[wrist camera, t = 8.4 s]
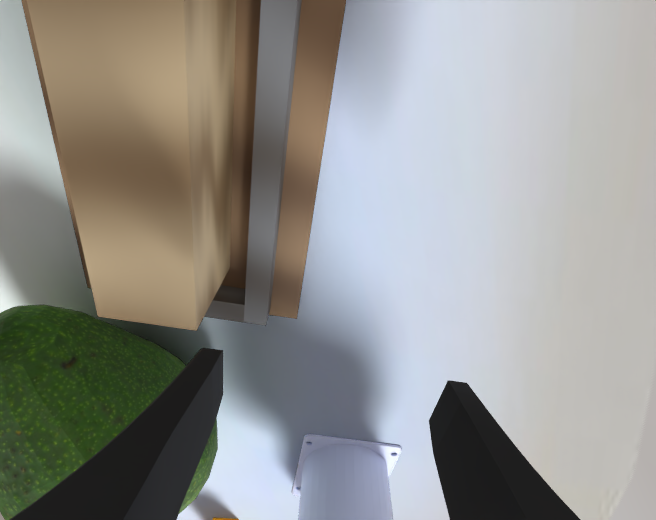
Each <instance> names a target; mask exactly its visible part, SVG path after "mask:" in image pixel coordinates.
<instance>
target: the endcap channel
mask: <svg viewBox="0 0 656 520" xmlns="http://www.w3.org/2000/svg"><path fill="white" fill-rule="evenodd" d="M345 4H346V0H236V27H235V69H234V112H233V154H232V197H231V239H230V268H229V270H228V272H227V274H226V276H225V278H224V280H223V282H222V283H221V285H220V287H219V289H218V291H217V293H216V295H215V297H214V299H213V300H212V302H211V304H210V306H209V308H208V310H207V312H206V314H205V316H204V317H210V318H217V319H224V320H231V321H238V322H245V323H251V324H258V325H265V326H266V323H267V319H268V316H269V315H275V316H281V317H288V318H295V319H297V314H298V308H299V302H300V295H301V289H302V282H303V276H304V269H305V263H306V256H307V250H308V243H309V237H310V230H311V224H312V218H313V211H314V205H315V198H316V192H317V185H318V179H319V172H320V166H321V159H322V153H323V147H324V140H325V134H326V127H327V121H328V114H329V108H330V101H331V95H332V88H333V82H334V75H335V69H336V63H337V56H338V50H339V43H340V37H341V30H342V24H343V17H344V11H345ZM22 5H23V9H24V13H25V18H26V22H27V26H28V31H29V35H30V39H31V44H32V48H33V52H34V57H35V61H36V65H37V70H38V74H39V78H40V83H41V87H42V91H43V96H44V100H45V104H46V109H47V113H48V117H49V122H50V126H51V130H52V135H53V139H54V143H55V148H56V152H57V156H58V161H59V165H60V169H61V174H62V178H63V182H64V187H65V191H66V195H67V200H68V204H69V208H70V213H71V217H72V221H73V226H74V230H75V234H76V239H77V243H78V247H79V252H80V256H81V260H82V265H83V269H84V273H85V278H86V282H87V286H88V288H91V284H90V279H89V275H88V270H87V266H86V262H85V257H84V253H83V248H82V244H81V239H80V235H79V231H78V226H77V222H76V217H75V213H74V208H73V204H72V199H71V195H70V191H69V186H68V182H67V177H66V173H65V168H64V164H63V160H62V155H61V151H60V146H59V142H58V137H57V133H56V128H55V124H54V120H53V115H52V111H51V106H50V102H49V97H48V93H47V89H46V84H45V80H44V75H43V71H42V66H41V62H40V57H39V53H38V49H37V44H36V40H35V35H34V31H33V26H32V22H31V18H30V13H29V9H28V4H27V0H22Z"/></svg>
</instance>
